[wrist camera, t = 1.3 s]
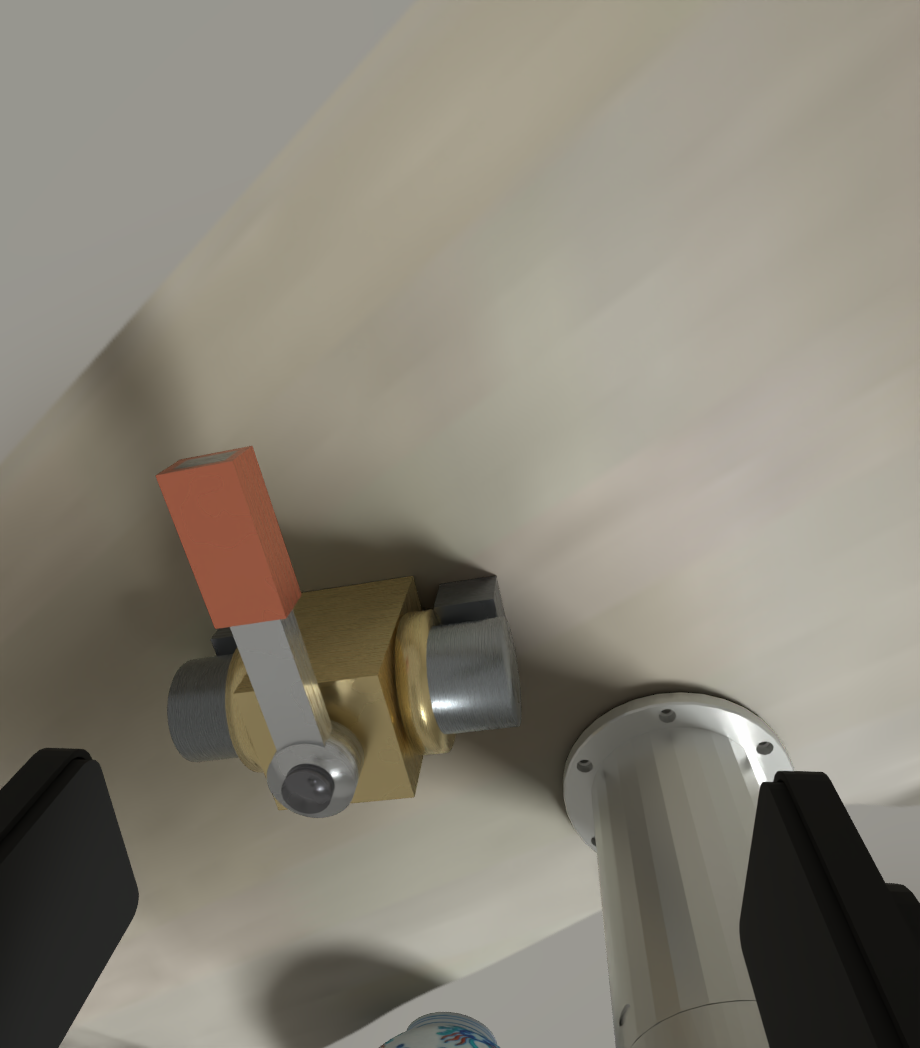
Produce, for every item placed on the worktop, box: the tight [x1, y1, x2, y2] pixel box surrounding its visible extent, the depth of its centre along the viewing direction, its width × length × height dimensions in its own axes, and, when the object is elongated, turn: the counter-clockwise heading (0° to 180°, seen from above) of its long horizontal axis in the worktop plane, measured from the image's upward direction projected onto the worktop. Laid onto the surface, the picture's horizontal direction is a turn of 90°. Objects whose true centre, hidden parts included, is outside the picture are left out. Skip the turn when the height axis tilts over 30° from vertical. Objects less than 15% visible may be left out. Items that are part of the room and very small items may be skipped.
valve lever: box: [156, 446, 365, 818], centre depth 27 cm, size 15×4×2 cm, turn 12°
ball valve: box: [167, 576, 521, 810], centre depth 35 cm, size 7×16×9 cm, turn 102°
